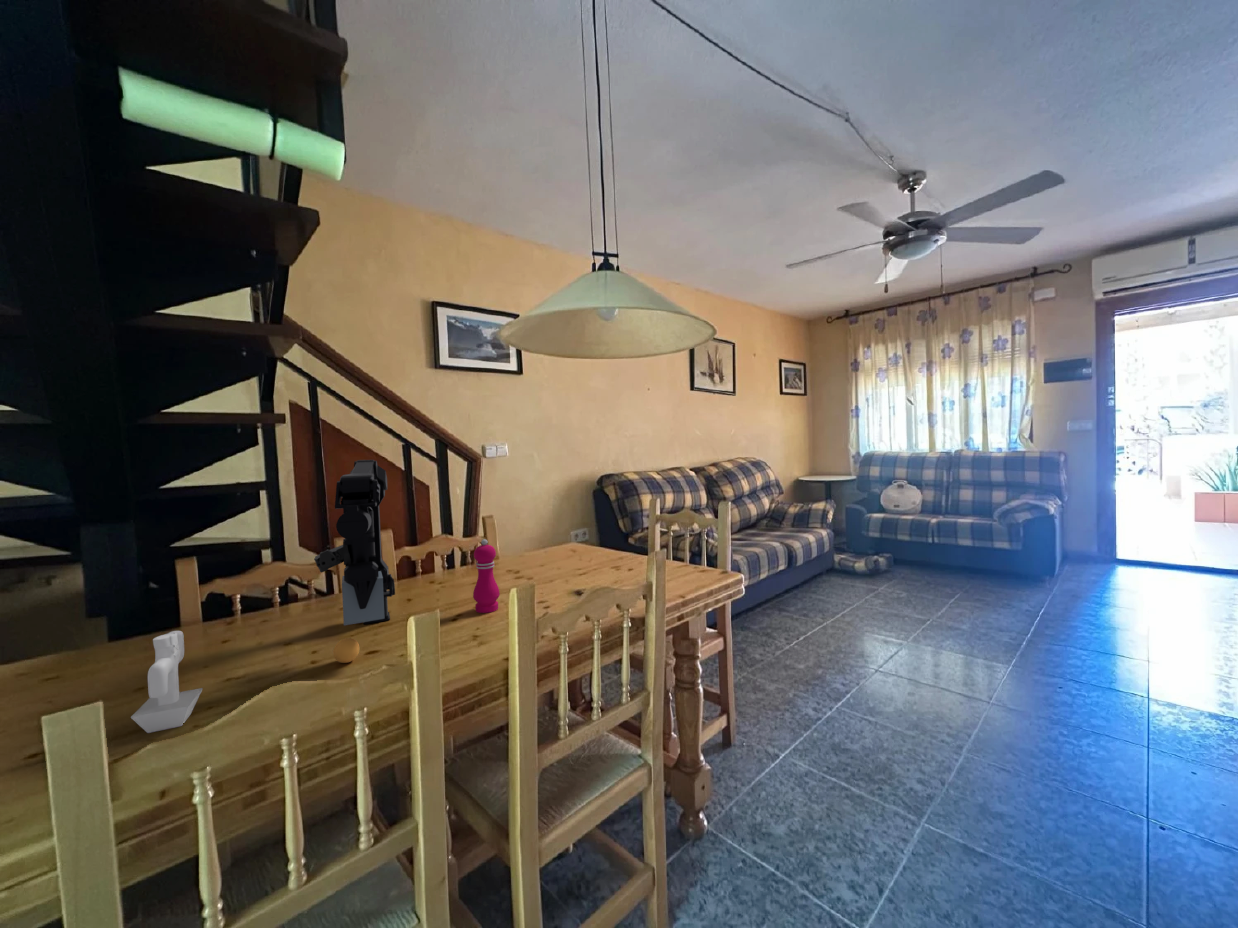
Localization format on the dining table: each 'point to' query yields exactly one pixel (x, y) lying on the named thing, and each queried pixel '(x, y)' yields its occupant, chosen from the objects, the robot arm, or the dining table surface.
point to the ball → (346, 650)
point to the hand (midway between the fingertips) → (362, 603)
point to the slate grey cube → (372, 610)
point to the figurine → (166, 688)
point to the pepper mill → (485, 579)
